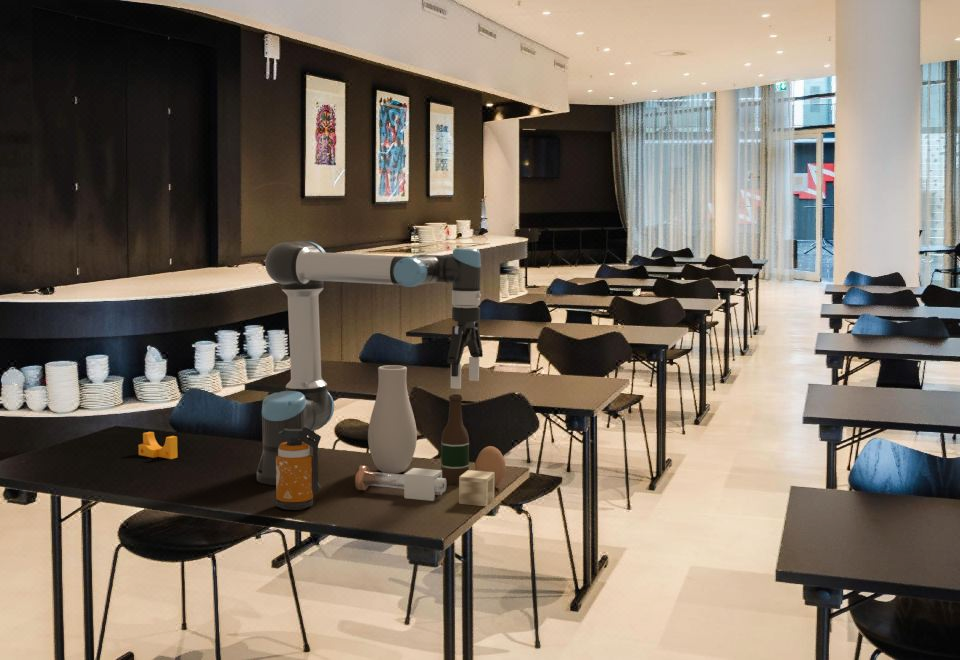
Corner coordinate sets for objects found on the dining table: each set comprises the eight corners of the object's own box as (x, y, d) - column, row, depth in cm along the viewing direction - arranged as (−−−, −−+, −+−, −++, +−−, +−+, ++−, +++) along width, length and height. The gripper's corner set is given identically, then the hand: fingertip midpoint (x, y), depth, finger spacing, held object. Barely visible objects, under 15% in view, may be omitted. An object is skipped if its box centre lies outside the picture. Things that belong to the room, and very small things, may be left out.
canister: (278, 501, 263) (277, 424, 261) (322, 501, 264) (322, 424, 262) (274, 512, 254) (273, 431, 252) (320, 511, 255) (319, 431, 253)
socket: (459, 503, 263) (459, 476, 263) (467, 496, 270) (467, 470, 269) (486, 506, 261) (486, 479, 260) (494, 498, 268) (494, 472, 267)
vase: (370, 478, 287) (370, 371, 283) (365, 466, 300) (365, 364, 297) (420, 476, 290) (420, 370, 286) (412, 464, 303) (413, 363, 299)
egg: (509, 490, 276) (510, 448, 275) (479, 492, 274) (480, 450, 273) (500, 482, 284) (500, 442, 283) (471, 484, 282) (471, 443, 281)
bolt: (355, 492, 272) (355, 468, 271) (364, 486, 278) (364, 462, 277) (440, 500, 265) (440, 476, 264) (448, 494, 271) (448, 470, 271)
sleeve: (404, 498, 268) (404, 473, 267) (413, 491, 274) (413, 467, 273) (433, 500, 266) (433, 476, 265) (441, 494, 272) (442, 470, 271)
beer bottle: (465, 485, 281) (466, 398, 278) (437, 483, 282) (438, 396, 279) (471, 478, 288) (472, 393, 285) (444, 476, 290) (444, 391, 287)
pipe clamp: (138, 455, 312) (138, 434, 311) (150, 452, 316) (149, 431, 315) (166, 460, 306) (165, 439, 305) (177, 457, 309) (177, 436, 308)
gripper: (462, 310, 266) (461, 392, 268) (494, 303, 289) (493, 378, 291) (435, 309, 268) (434, 390, 271) (469, 301, 291) (468, 376, 294)
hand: (465, 384), depth 281 cm, fingers open, 13 cm apart
